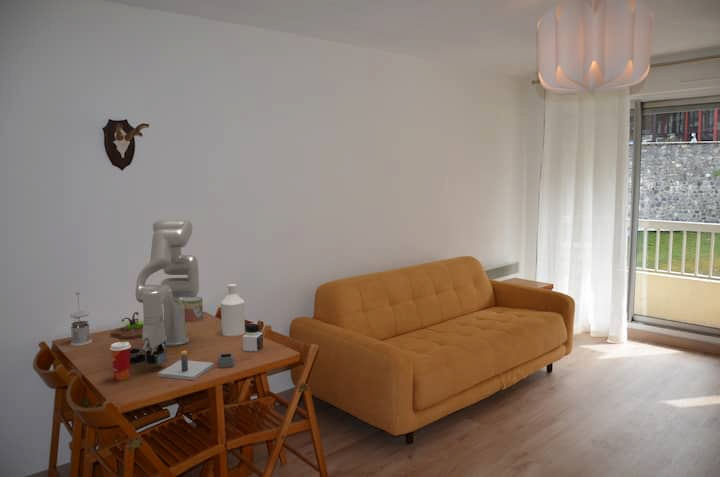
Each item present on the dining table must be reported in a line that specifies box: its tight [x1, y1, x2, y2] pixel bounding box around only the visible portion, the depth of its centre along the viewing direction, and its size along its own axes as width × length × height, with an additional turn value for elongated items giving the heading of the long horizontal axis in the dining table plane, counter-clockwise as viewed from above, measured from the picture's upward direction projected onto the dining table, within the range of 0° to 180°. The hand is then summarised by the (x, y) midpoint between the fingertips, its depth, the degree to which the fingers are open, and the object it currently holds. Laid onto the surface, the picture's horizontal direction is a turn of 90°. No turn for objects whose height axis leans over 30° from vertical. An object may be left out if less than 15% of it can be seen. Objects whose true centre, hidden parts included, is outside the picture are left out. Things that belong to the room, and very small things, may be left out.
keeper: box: [157, 350, 215, 381], centre depth 224 cm, size 16×16×10 cm
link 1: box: [144, 349, 168, 366], centre depth 227 cm, size 6×6×4 cm
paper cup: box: [109, 341, 132, 382], centre depth 216 cm, size 8×8×14 cm
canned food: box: [180, 296, 204, 323], centre depth 302 cm, size 11×11×12 cm
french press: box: [69, 291, 93, 347], centre depth 262 cm, size 10×12×25 cm
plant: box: [110, 311, 144, 341], centre depth 277 cm, size 20×20×11 cm
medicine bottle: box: [242, 322, 264, 353], centre depth 252 cm, size 7×7×12 cm
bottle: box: [220, 283, 246, 337], centre depth 276 cm, size 12×12×25 cm
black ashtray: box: [130, 347, 146, 364], centre depth 239 cm, size 12×12×4 cm
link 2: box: [217, 352, 235, 369], centre depth 232 cm, size 6×6×4 cm
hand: (156, 360), depth 227 cm, fingers closed on link 1, 6 cm apart
